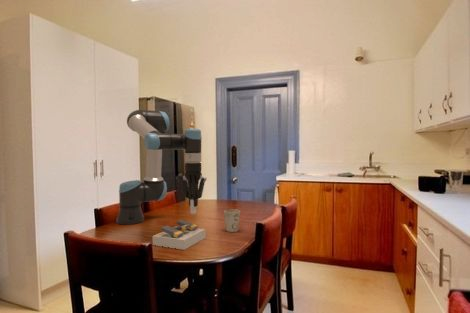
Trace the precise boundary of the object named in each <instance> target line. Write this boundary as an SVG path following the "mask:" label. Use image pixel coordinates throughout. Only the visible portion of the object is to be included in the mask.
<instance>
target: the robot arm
mask: <svg viewBox="0 0 470 313" xmlns="http://www.w3.org/2000/svg"><path fill="white" fill-rule="evenodd" d="M126 124H127V126H128V128H129V129H130V130H131V131H133V132H136V133H137V134H138V135H139V136H140V137H141V138H142V139H143V143H144V146H145V149H146V176H145V177H144V178H143V182H142V181H141V180H137V179H136V180H129V181H124V182H122V183H120V184H119V189H118V193H119V194H118V195H119V198H118V199H119V202H118V203H119V210H118V213H117V217H116V224H118V225H134V224H135V225H136V224H140V223H143V222H145V215H144V214H143V210H142V203H147V202H158V201H161V200H164V199H165V197H166V195H167V193H168V192H167V191H168V186H167V182H166V181H165V180H164V177H162V165H163V164H162V163H163V162H162V160H163V150H165V151H166V150H176V151H177V150H178V151H179V150H180V151H181V150H182V151H184V162H185V164H184V171H185V172H184V175H183V176H181V177H180V178H179V179H180V181H181V182H182V184H181V185H182V188H183V193H184V197H185V198H186V199H188V206H189V207H190V214H191V215H195V214H196V213H197V207H198V206H199V204H198V203H199V202H198V200H199V199H202V196H203V192H204V187H205V182H206V181H207V177H204V176H203V174H202V163H201V162H202V131H201V129H200V128H186V129H185V130H184V133H166V132H168V131H169V129H170V118H169V115H168V114H167V113H166V112H165V111H160V110H151V109H150V110H148V109H136V110H133V111H131V112H130V113H129V115H128V116H127V119H126Z"/></svg>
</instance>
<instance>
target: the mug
mask: <svg viewBox="0 0 470 313" xmlns="http://www.w3.org/2000/svg"><path fill="white" fill-rule="evenodd" d="M223 214H224V222H225V229H226V231H227V232H228V233H237V232H238V231H239V228H240V219H241V210H239V209H233V208H232V209H225V210H224V211H223Z"/></svg>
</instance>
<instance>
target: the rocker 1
mask: <svg viewBox="0 0 470 313" xmlns="http://www.w3.org/2000/svg"><path fill="white" fill-rule="evenodd" d="M160 231H161V232H165V233H167V234H170V235H172V236H174V237H176V238H179V237H181V236H183V233H184V232H182V231H179V230H177V229H174V228H172V226H169V225H167V224H166V225H164V226H161V228H160Z"/></svg>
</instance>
